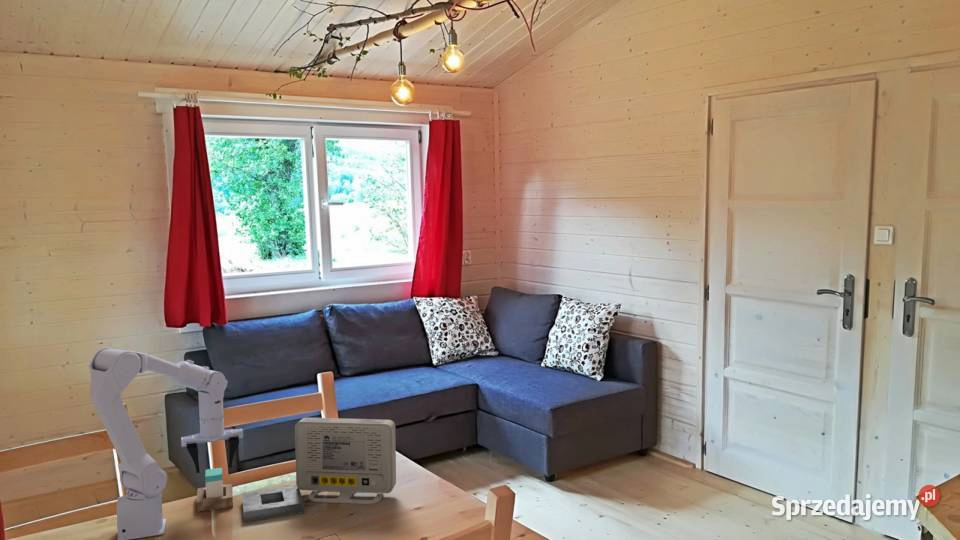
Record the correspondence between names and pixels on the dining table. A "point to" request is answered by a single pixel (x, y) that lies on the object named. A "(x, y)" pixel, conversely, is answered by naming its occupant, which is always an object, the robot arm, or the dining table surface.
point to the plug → (214, 483)
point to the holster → (214, 499)
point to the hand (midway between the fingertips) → (213, 469)
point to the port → (287, 507)
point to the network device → (345, 457)
